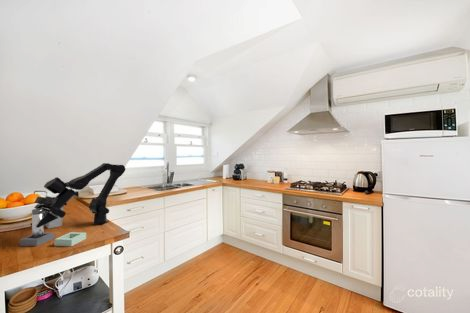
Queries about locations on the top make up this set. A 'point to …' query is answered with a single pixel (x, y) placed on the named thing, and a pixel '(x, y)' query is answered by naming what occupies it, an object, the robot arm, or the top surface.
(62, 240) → the sage socket
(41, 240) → the charcoal socket
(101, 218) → the robot arm
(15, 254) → the top surface
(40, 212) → the steel peg
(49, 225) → the skincare box
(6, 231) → the top surface
